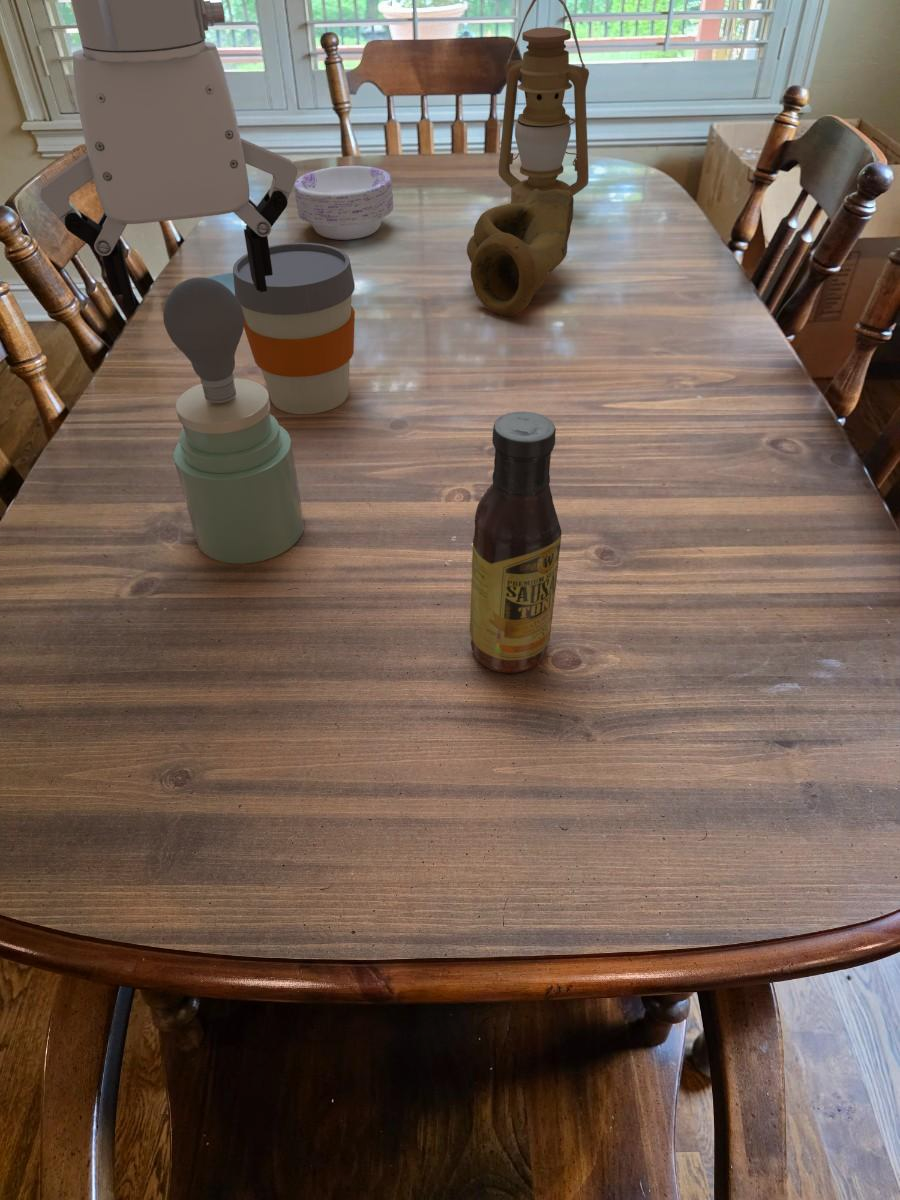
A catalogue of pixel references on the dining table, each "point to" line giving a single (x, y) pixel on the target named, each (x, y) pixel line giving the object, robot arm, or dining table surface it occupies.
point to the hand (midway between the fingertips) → (195, 294)
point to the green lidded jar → (237, 475)
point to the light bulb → (206, 332)
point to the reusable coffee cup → (301, 325)
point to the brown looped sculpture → (519, 248)
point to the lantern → (544, 113)
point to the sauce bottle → (515, 548)
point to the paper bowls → (344, 200)
